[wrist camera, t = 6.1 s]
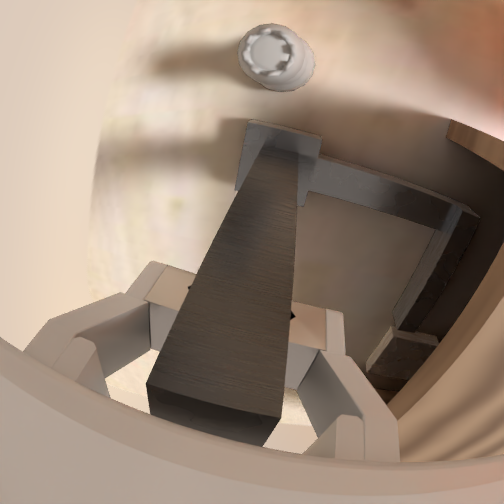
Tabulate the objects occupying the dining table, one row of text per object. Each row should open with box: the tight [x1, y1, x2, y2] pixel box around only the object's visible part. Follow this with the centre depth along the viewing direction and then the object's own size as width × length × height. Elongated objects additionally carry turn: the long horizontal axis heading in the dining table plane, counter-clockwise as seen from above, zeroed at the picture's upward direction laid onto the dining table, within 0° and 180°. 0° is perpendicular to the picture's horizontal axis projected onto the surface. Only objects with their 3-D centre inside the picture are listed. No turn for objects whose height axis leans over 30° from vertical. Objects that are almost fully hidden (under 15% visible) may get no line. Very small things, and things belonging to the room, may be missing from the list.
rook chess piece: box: [237, 23, 315, 92], centre depth 15 cm, size 4×4×8 cm
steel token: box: [366, 326, 439, 380], centre depth 30 cm, size 6×6×2 cm
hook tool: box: [146, 119, 481, 447], centre depth 16 cm, size 18×14×20 cm
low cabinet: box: [374, 119, 504, 462], centre depth 21 cm, size 20×32×13 cm, turn 169°
